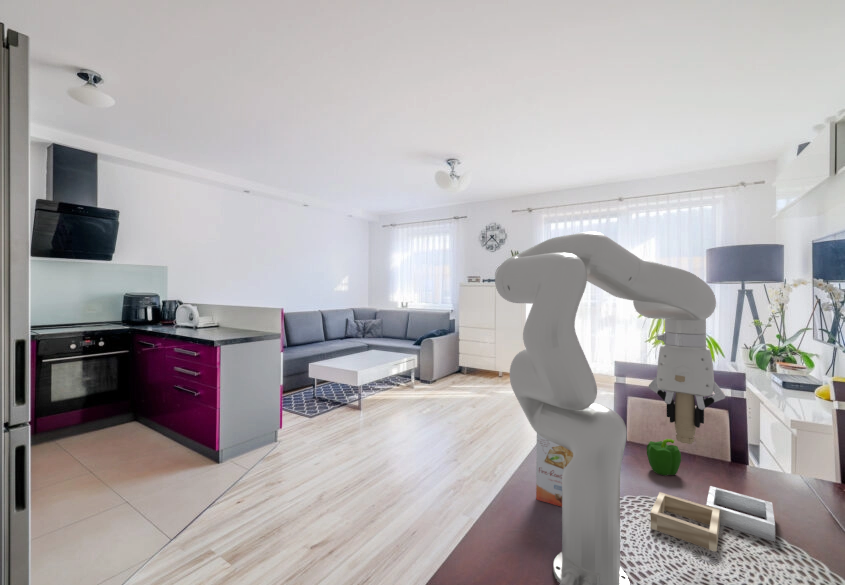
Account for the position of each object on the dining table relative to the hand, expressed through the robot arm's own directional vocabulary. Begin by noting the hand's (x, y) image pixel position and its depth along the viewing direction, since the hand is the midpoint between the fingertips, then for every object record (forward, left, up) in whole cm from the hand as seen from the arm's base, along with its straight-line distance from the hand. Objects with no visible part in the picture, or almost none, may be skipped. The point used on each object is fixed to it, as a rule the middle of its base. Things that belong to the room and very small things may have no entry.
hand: (685, 422), depth 82 cm
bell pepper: (+27, +8, -23) cm, 37 cm away
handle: (0, 0, -4) cm, 4 cm away
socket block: (+12, -9, -23) cm, 28 cm away
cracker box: (-8, +23, -23) cm, 34 cm away
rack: (0, 0, -23) cm, 23 cm away
